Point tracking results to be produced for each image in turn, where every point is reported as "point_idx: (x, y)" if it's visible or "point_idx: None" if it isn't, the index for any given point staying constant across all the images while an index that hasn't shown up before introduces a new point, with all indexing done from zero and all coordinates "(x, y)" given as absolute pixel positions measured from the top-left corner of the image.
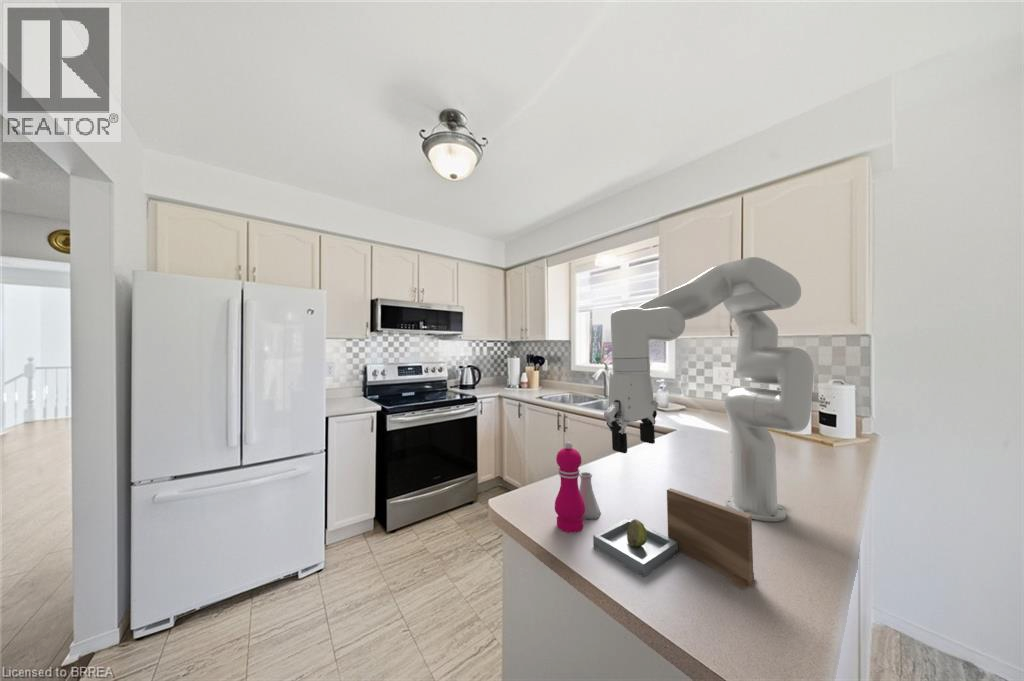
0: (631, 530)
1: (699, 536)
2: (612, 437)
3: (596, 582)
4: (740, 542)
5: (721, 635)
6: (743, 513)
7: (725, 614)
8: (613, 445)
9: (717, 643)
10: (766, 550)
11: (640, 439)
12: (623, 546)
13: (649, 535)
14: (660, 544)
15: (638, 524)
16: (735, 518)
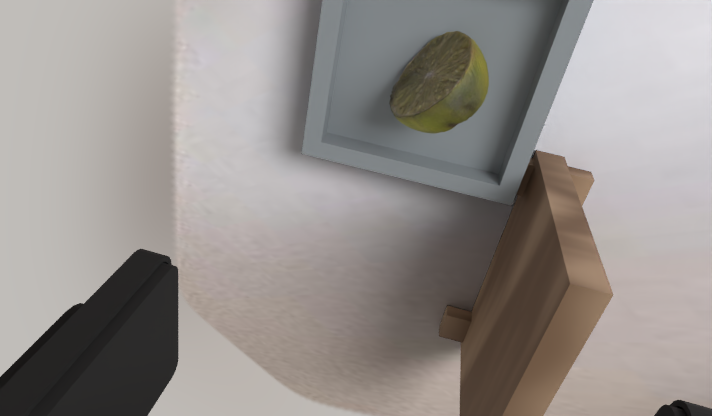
0: (444, 63)
1: (504, 294)
2: (50, 345)
3: (185, 34)
4: (466, 409)
5: (262, 299)
6: None
7: (325, 302)
8: (68, 310)
9: (237, 295)
10: (692, 371)
11: (670, 413)
12: (396, 35)
13: (529, 97)
14: (503, 140)
15: (422, 118)
16: None
